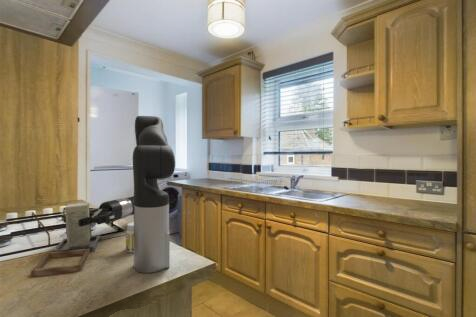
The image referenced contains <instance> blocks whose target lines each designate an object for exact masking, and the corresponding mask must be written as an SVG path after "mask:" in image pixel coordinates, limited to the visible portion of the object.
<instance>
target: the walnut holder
mask: <svg viewBox="0 0 476 317" xmlns="http://www.w3.org/2000/svg"><path fill="white" fill-rule="evenodd" d="M90 253H91V252H90V248H89V249H79V250H69V251H59V252H53V251H52V252H47V253H46V254H45V255H44V256H43V257H42V259H41V260H40V261H39V262H38V263H37V264H36V265H35V267H33V268H32V269H31V270H30V271H31V273H30V274H31V275H30V276H31V278H32V277H33V278H34V277H41V276H50V275H57V274H58V275H59V274H66V273H73V272H76V273H77V272H81V271H82V270H83V268H84V265H85V263H86V262H87V260H88V258H89V256H90ZM74 256H75V257H76V256H81V259H80V260H79V261H78V263H77V264H69V265H62V266H54V267H52V266H51V267H44V266H45V265H47V263H48V262H49V260H51V259H57V258H59V259H60V258H69V257H74Z"/></svg>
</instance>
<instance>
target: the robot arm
mask: <svg viewBox="0 0 476 317" xmlns="http://www.w3.org/2000/svg"><path fill="white" fill-rule="evenodd" d="M134 133H135V135H134V136H135V142H136V143H135V144H136V146H135V147H134V149H133V151H132V171H133V172H132V173H133V174H132V175H133V196H130V197H129V196H128V197H124V198H118V199H117V198H116V199H113V200H107V201H104V202H102V203H101V204H100V205H99V206H98V207H96V208H95V207H93V208H92V209H91V207H89V214H90V217H87V218H83V219H79V221H78V222H79V226H81V227H82V226H85V225H89V224H90V225H96V224H97V225H101V224H107V223H112V222H115V221H119V220H122V219H124V218H127V217H130V216H133V222H134V252H133V269H134V270H135V271H136V272H138V273H145V274H146V273H147V274H148V273H150V274H151V273H156V272H159V271H161V270H164V269H167V268H170V253H171V252H170V249H171V248H170V246H171V245H170V241H171V240H170V239H171V238H170V236H171V234H170V213H169V212H170V195H169V193H168V192H166V191H164V190H160V187H159V183H158V180H164V179H170V177H172V176H173V174H174V172H175V169H176V168H175V167H176V159H175V153H174V150H173V149H172V147H171V146H170V145H169V142H168V139H167V136H166V134H165V130H164V123H163V121H162V118H160V117H159V116H154V115H152V116H151V115H137V116H136V117H135V120H134ZM63 223H65V224H66V215H65V216H63Z"/></svg>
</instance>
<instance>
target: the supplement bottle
mask: <svg viewBox="0 0 476 317" xmlns="http://www.w3.org/2000/svg"><path fill="white" fill-rule="evenodd" d="M126 228H127V229H126V231H125V251H126V252H127V253H134V221H132V222H128V223H127V224H126Z"/></svg>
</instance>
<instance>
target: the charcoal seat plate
mask: <svg viewBox="0 0 476 317" xmlns="http://www.w3.org/2000/svg"><path fill="white" fill-rule="evenodd" d="M100 241H101V235H91V239H90V241H89V242H85V243H79V244H72V245H67V237H65V238H62V240H61V241H60V242H59V243H58V244H57V246H56V247H55V248H54V249H53V250H52V252H59V251H69V250H79V249H89V248H90V253H93V252H95V251H96V249H97V247H98V245H99V243H100Z"/></svg>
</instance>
